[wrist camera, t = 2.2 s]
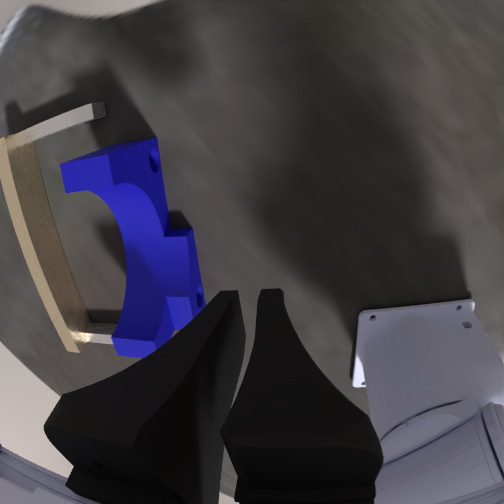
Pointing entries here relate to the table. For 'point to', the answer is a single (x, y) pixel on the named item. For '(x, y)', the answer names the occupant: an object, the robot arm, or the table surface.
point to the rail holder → (47, 229)
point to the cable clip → (143, 244)
